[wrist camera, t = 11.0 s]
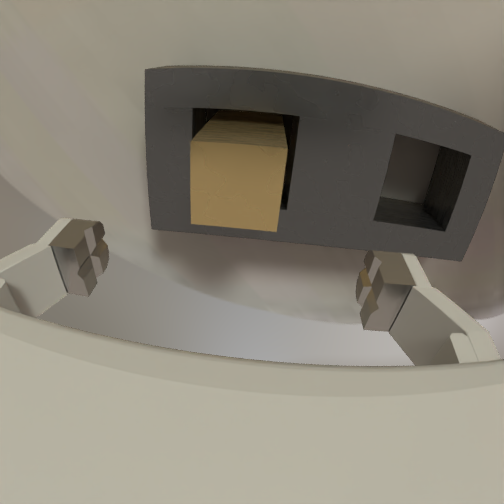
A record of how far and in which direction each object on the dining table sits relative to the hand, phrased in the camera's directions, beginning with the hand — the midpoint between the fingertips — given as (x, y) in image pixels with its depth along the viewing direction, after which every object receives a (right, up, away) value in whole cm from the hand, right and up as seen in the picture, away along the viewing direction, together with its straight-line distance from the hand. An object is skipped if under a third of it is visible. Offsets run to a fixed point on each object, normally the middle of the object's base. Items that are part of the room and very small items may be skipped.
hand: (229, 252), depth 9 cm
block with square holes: (+6, +7, +11) cm, 14 cm away
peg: (0, +7, +11) cm, 13 cm away
